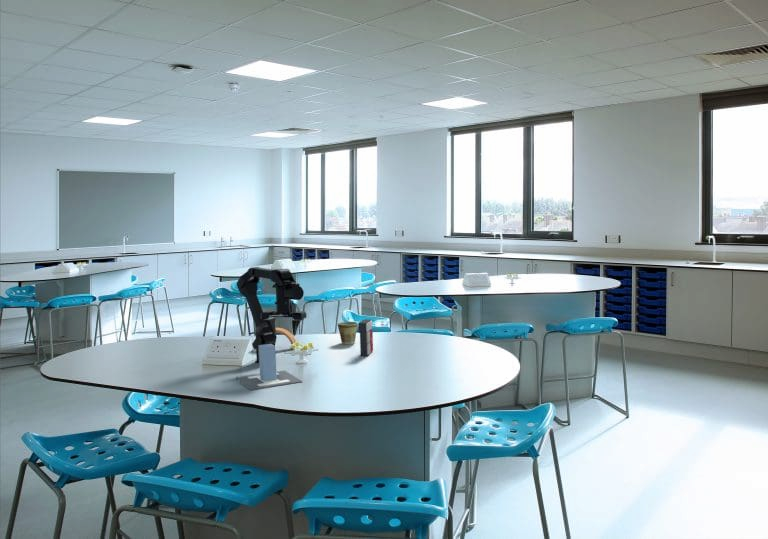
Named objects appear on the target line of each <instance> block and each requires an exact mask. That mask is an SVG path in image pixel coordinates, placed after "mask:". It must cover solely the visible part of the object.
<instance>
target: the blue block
mask: <svg viewBox="0 0 768 539" xmlns="http://www.w3.org/2000/svg"><path fill="white" fill-rule="evenodd" d="M276 353H277V352H276V345H275V346H274V345H272V344H266V345H259V362H258V363H259V365H258V366H259V374H260V379H261V380H263V381H270V380H276V379H277V375H276V372H277V356H276Z"/></svg>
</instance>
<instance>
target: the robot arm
mask: <svg viewBox="0 0 768 539" xmlns="http://www.w3.org/2000/svg"><path fill="white" fill-rule="evenodd" d="M260 278H263V279H267V280H268V279H269V280H270V281H271V282H272V283H274V284H273V285H272V289H275V301H274V305H276V306H275V307H276V308H275V309H276V311H275V310H264V309H263V307H262V305H261V302H260V300H259V297H258V293H257V292H258V284H259V283H260V281H261V280H260ZM236 288H237V289H238V291H239V293H240V294H241V295H242V296H243V297H244V298H245V299H246V302H247V305H248V308H249V311H250V313H251V316H252V319H253V322H254V324H255V332H254V335H255V339H254V340H253V341H252V343H251V344H252V348H253V350H254V349H256V350H255V352H256V360H255V361H254V363H259V345H266V344H272V345H274V346H275V347H276V344H277V332H276V329H275V328H276V320H277V318H292V320H291V326H292V335H293V337H295V336H296V335H297V331H298V328H299V325H300V323H301V321H304V319H306V318H307V316H308V315H307V312H306V310H305V311H304V310H303V311H301V310H297V305H295V304H293V303H292V300H294V301H300V300H302V299H303V298H304V295H305V294H304V293H305V292H304V289H303V288H302V287H301V286H300V283H297V281H296V279H295V278H294V275H293V274H292V272H291V270H290V269H289V268H279V269H278V268H277V269H270V268H264V267H260V266H254V267H253V266H252V267H250V268H248V269H247V271H246V272H244V273H243V274H242V275H241V276H240V277H239V278H238V280H237V281H236ZM263 310H264V311H263ZM296 310H297V311H296Z"/></svg>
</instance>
